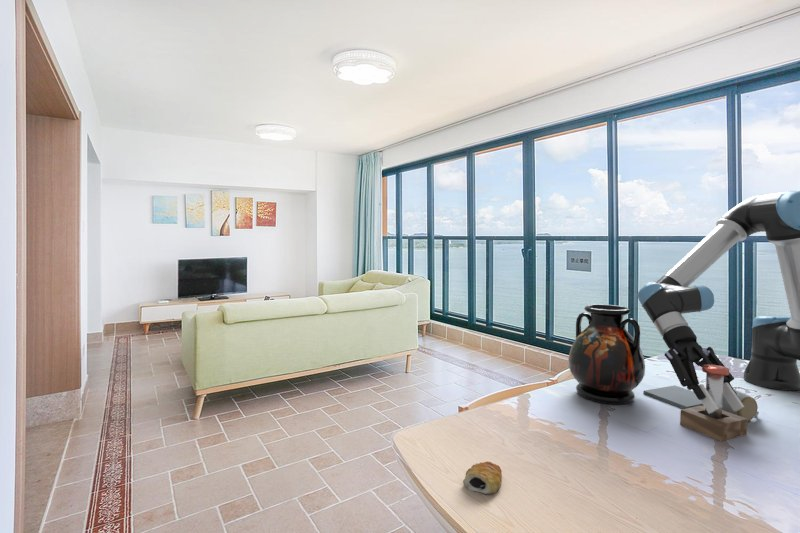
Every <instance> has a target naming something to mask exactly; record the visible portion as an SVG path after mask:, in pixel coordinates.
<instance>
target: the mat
mask: <svg viewBox="0 0 800 533" xmlns="http://www.w3.org/2000/svg"><path fill="white" fill-rule="evenodd" d="M643 394H644V395H646V396H648V397H651V398H654V399H656V400H659V401H662V402H664V403H666V404H670V405H671V406H672V405H673V406H675V407H677V408H679V409H686V408H691V407H697V406H702V405H703V403H702V402H701V400H699V399H698V398H697V396H696V395H695V393H694V392H693V390H688V389H687V388H685V387H681V386H678V385H670V386H669V385H668V386H663V387H656V388H651V389H644V390H643Z"/></svg>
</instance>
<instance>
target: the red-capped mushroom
mask: <svg viewBox="0 0 800 533" xmlns="http://www.w3.org/2000/svg"><path fill="white" fill-rule="evenodd" d="M701 371H702V372H703V373H706V374H705V375H706V376H705V388H706V390H707V391H708V393H709V394H710V396H711V398H712V399H713V401H714V402H715V404H716V405H717V407H718V410H716V411H715V412H713V413H711V414H709V413H708V412H707V410H706V408H705V415H706V416H709V417H712V418H714V419H721V418H722V405H723V384H724V376H726V375H729V372H730V368H728V367H727V366H725V367H723V366H719V365H712V364H704V365H702V367H701Z"/></svg>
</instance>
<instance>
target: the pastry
mask: <svg viewBox="0 0 800 533" xmlns="http://www.w3.org/2000/svg"><path fill="white" fill-rule="evenodd" d="M502 475H503V474H502V469H501V466H500V465H498V464H496V463H493V462H492V461H483V462H479V463H475V464H473V465H471V467H470V468H468V469H467V470H466V472H465V477H464V479H463V480H462V484H463V485H464V487H465V488H466V489H468V490H469V491H471V492H475V493H476V492H477V493H481V494H484V495H491V494H492V493H493V494H495V493H497V492H498V490H499V489H500V486H501V483H502V479H503V476H502Z"/></svg>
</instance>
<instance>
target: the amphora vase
mask: <svg viewBox="0 0 800 533" xmlns="http://www.w3.org/2000/svg"><path fill="white" fill-rule="evenodd" d="M584 310H585V312H581V313H579V314H578V316H577V318H576V322H575V339H574V341H573V343H572V345H571V347H570V350H569V352H568V353H569V354H568V361H567V362H568V368H569V372H570V373H571V375H572V376H573V378H574V379H575V381H576V382H577V385H576V387H575V390H576V392H577V393H578V395H580V396H581V397H583V398H585V399H587V400H590V401H593V402H596V403H601V404H609V405H622V404H628V403H631V402H632V401H633V400H634V399H635V393H634V391H633V390H634V389H636V388H637V387H638V386H639V385H640V384H641V383H642V381H643V379H644V378H645V376H646V374H645V373H646V363H645V358H644V354H643V351H642V349H641V347H640V346H641V326H640V325H639V322H638V321H637V320H636V319H634V318H629V317H628V318H626V319H624V316H627V315H629V314H631V309H630V308H628V307H626V306H621V305H614V304H587V305H586V306H584ZM584 317H585V318H586V320H588V326H586V327H585V328H584V329H583V330H582V320H583V318H584ZM628 323H629V324H631V325H632V327H633V329H634V336H632V335H631V333H629V331H628V329H626V326H627V324H628Z"/></svg>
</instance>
